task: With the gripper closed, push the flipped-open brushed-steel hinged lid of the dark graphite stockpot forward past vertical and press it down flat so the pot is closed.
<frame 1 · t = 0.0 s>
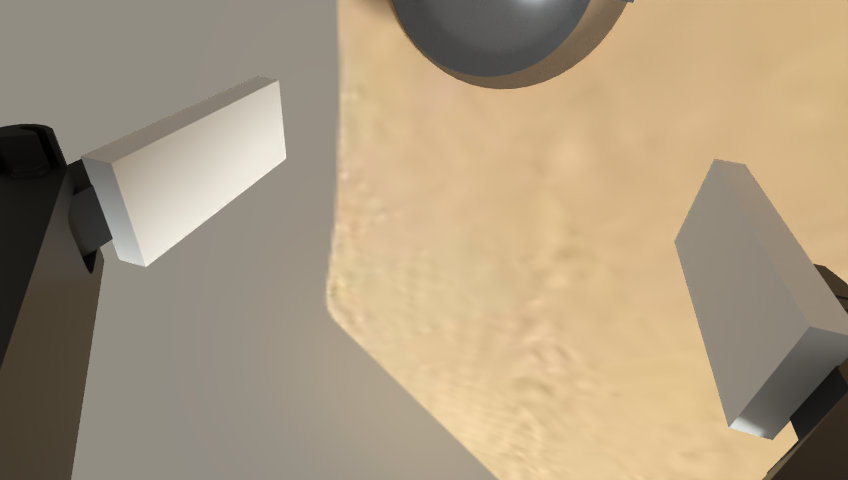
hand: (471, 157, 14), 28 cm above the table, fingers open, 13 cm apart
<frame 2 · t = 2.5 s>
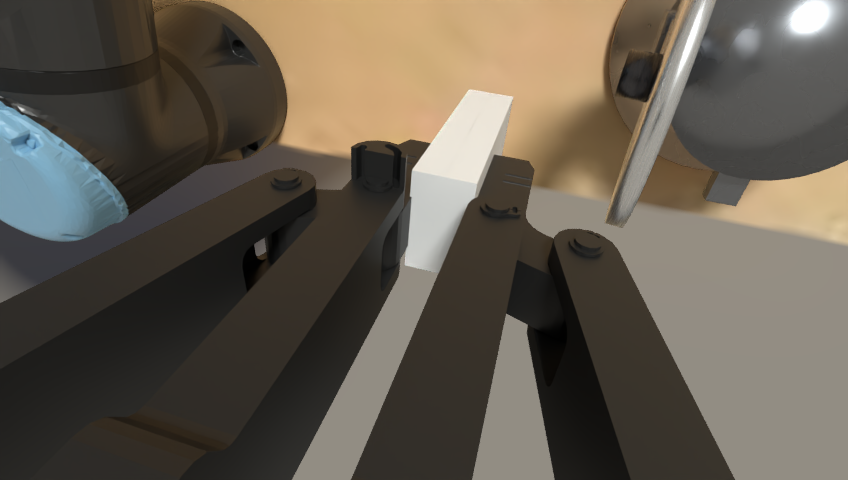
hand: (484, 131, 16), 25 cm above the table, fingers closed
lid: (645, 85, 23), point 16 cm above the table, hinge at 100.0°
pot: (750, 47, 34), on the table
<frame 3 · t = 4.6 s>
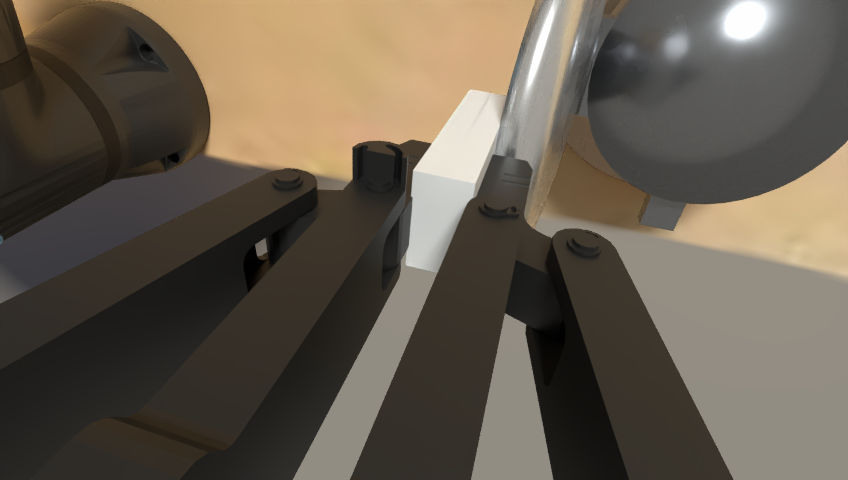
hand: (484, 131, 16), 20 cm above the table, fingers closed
lid: (536, 101, 19), point 16 cm above the table, hinge at 99.3°, touching gripper
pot: (691, 52, 30), on the table
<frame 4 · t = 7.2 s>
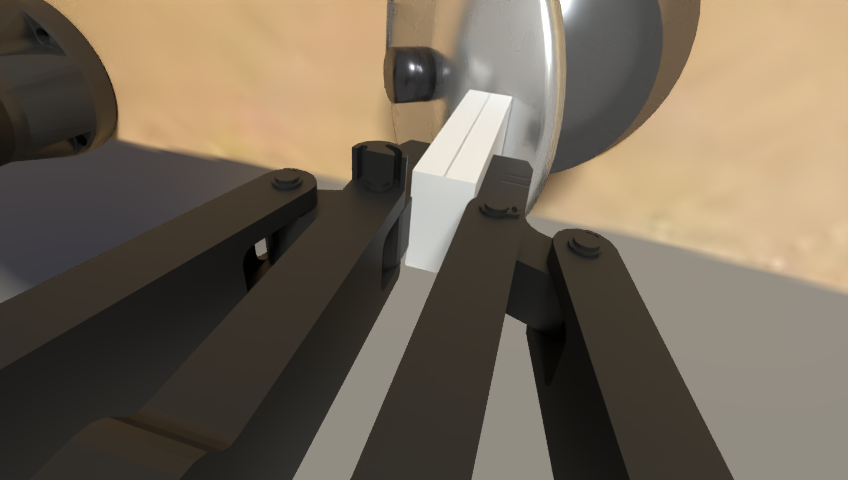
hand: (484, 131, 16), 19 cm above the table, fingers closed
lid: (433, 86, 20), point 15 cm above the table, hinge at 50.5°, touching gripper
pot: (538, 33, 31), on the table
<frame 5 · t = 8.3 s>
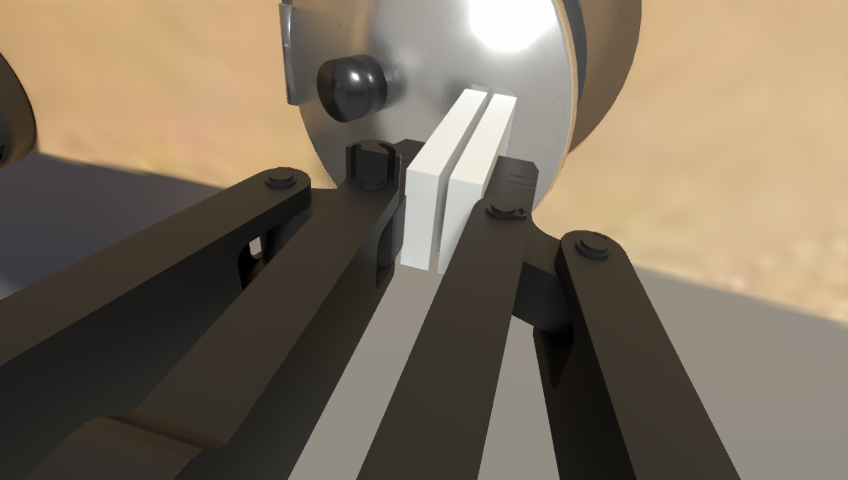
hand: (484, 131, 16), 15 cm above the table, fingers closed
lid: (389, 96, 18), point 13 cm above the table, hinge at 23.0°, touching gripper
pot: (470, 37, 28), on the table
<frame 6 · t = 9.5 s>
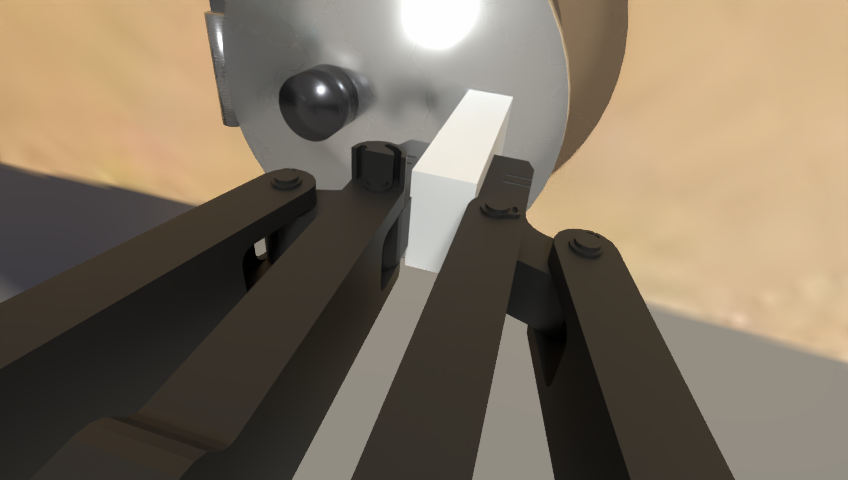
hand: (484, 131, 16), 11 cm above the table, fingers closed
lid: (365, 107, 17), point 11 cm above the table, hinge at 3.8°, touching gripper
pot: (440, 48, 26), on the table
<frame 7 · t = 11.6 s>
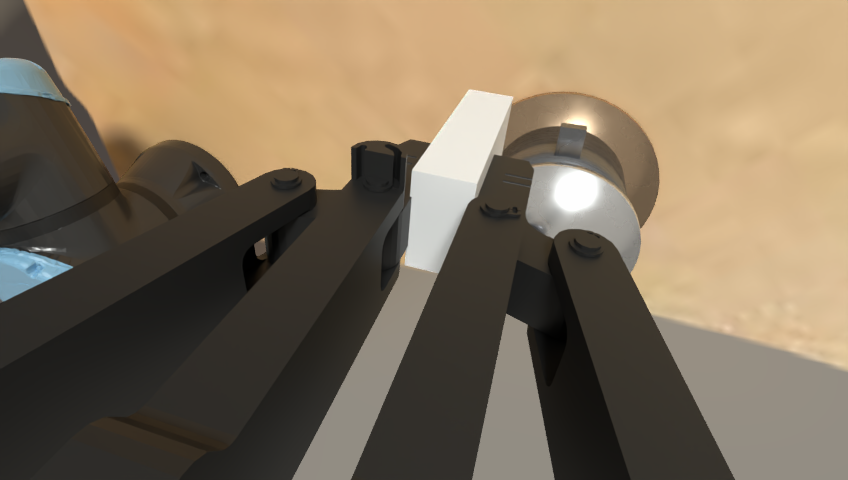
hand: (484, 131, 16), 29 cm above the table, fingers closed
lid: (546, 242, 39), point 11 cm above the table, hinge at 3.7°
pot: (555, 185, 47), on the table
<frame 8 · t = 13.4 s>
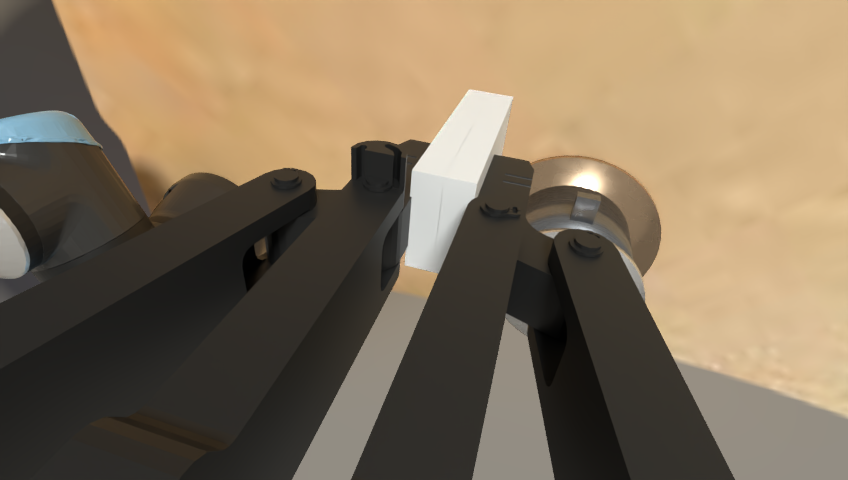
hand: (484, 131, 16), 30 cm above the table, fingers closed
lid: (560, 296, 43), point 11 cm above the table, hinge at 3.7°
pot: (565, 235, 52), on the table
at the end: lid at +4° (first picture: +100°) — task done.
